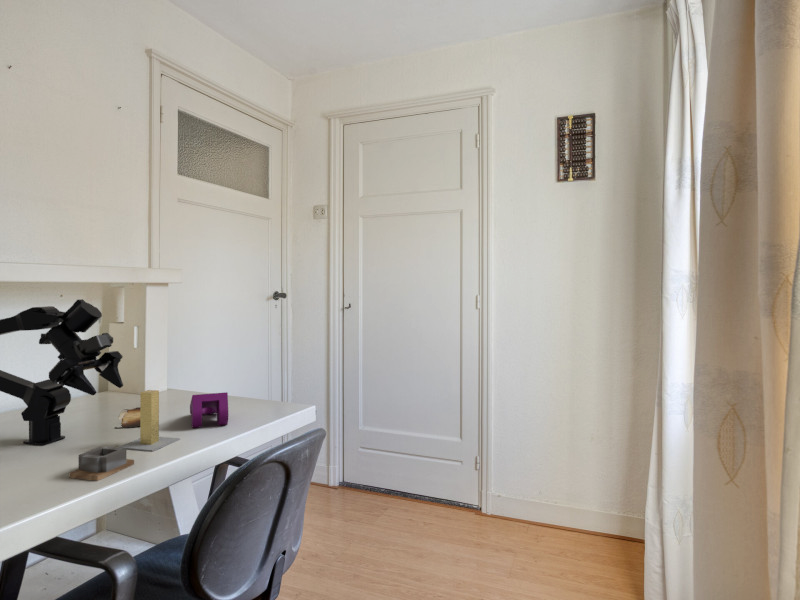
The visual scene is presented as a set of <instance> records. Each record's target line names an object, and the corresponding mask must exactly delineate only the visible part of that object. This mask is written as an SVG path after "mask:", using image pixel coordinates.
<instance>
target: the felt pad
mask: <svg viewBox="0 0 800 600" xmlns="http://www.w3.org/2000/svg"><path fill="white" fill-rule="evenodd" d="M180 440H181V438H178V437H169V436H159V441H158V442H156V443H154V444H152V445H148V444H140V438H137V439H134V440H132V441H129V442H127V443H125V444H121V445H119V446H118V448H123V449H125V450H132V451H133V450H135V451H142V450H143V451H144V452H152V451H153V452H155V451H158V450H160V449H163V448H164V447H167V446H169V445H171V444H173V443H175V442H178V441H180ZM159 448H160V449H159ZM157 449H158V450H157ZM143 451H142V452H143Z"/></svg>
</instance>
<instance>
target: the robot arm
mask: <svg viewBox="0 0 800 600" xmlns="http://www.w3.org/2000/svg"><path fill="white" fill-rule="evenodd" d="M102 317H103V313H102V312H101V311H100V310H99V308H98V307H96V306H94V305H93V304H91V303H89V302H86V301H85V300H84V299H76V301H74V302H73V304H72V305H71V306H70V308H68V309H67V310H66V311H60V310H59V309H58V308H56V307H55V306H49V305H48V306H35V307H34V306H33V307H29V308H28V309H27V308H26V309H25V310H22V311H20V312H19V313H17V314H15V315H13V316H10V317H6V318H2V319H1V318H0V336H2V335H7V334H13V333H15V332H20V331H39V330H47V331H46V333H40V338H39V340H38V344H39V345H52V346H53V347H54V349H55V350H56V351H57V353H59V355H58V356H57V358H58V360H59V361H58V362H57V363H56V364H55V365H54V366H53V368H51V369H50V371H49V372H48V379H45V380H41V381H37V382H33V381H31V380H28V379H26V378H22V377H20V376H17V375H15V374H12V373H10V372H7V371H4V370H0V392H2V393H5V394H7V395H8V396H9V395H10V396H12V397H16V398H18V399H20V400H22V401H23V402H24V404H25V405H26V406H27V407H26V408H25V409H24V410H23V411H21V414H20V415H21V418H22V419H23V421H24V422H28V439H24V440H23V441H22V442H23V444H26V445H27V444H29V445H38V446H45V445H48V444H50V443H53V442H57V441H61V440H64V439H65V438H66V435H61V434H62V431H61V430H62V426H61V425H62V423H61V416H60V415H61V414H64V413H65V410H66V407H67V406H69V405H70V403H71V402H72V401H71V400H72V394H71V392H70V389H68V388H67V387H69V388H72V389H75V390H78V391H80V392H83V393H86V394H88V395H91V396H94V395H95V396H96V394H97V391H96V389H95V387H94V386H93V385H92V383H91V382H90V380H89V379H88V378H87V376H86V375H85V373H84V371H86V370H87V371H88V370H92V369H94V370H95V371H96V372H98V373H99V376H101V377H102V378H103V379H105V380H106V381H107V382H109V383H110V384H112V385H114V386H116V387H117V388H119V389H121V388H123V387H124V383H123V381H122V377H121V373H120V371H119V363H120V362H121V361H122V359H123V357H124V356H123V354H121V353H120V351H119V350H113V351H112V350H111V351H108V352H107V351H106V352H104V353H103V354H102V352H101V351H103V350H105V349H107V348H111V347H112V346H113V345H112V344H113V343H114V337H113V336H112V335H110V333H108V332H103V333H101V334H97V335H94V336H92V337H89V338H87V339H82V338H81V337H80V335H78V334H77V333H86V332H87V331H88V330H90V328H91V327H93V325H94V324H95V323H97V322H98V321H99V320H100V319H102ZM48 329H49V330H48ZM101 354H102V355H101ZM100 355H101V356H100ZM99 356H100V357H99ZM97 357H99V358H97ZM65 386H67V387H65Z"/></svg>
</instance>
